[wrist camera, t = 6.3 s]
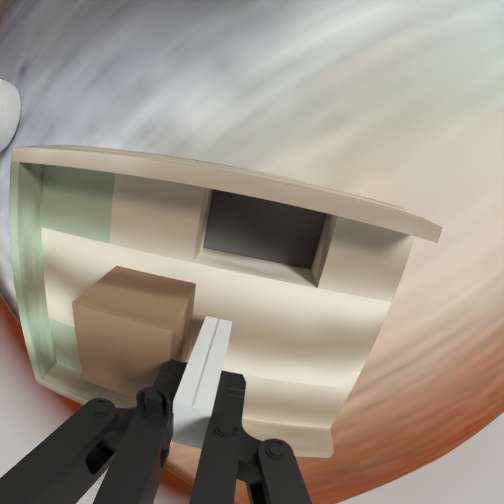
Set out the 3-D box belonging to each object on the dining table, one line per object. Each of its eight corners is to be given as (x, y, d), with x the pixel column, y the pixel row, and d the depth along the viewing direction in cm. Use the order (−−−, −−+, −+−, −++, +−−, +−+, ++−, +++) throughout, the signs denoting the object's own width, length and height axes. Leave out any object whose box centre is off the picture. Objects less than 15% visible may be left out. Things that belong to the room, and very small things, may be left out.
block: (116, 265, 17) (72, 302, 12) (196, 283, 17) (170, 330, 12) (117, 334, 18) (83, 379, 14) (188, 352, 18) (167, 407, 14)
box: (64, 144, 18) (12, 147, 12) (399, 207, 18) (442, 227, 13) (67, 347, 23) (36, 382, 18) (322, 408, 23) (330, 457, 18)
